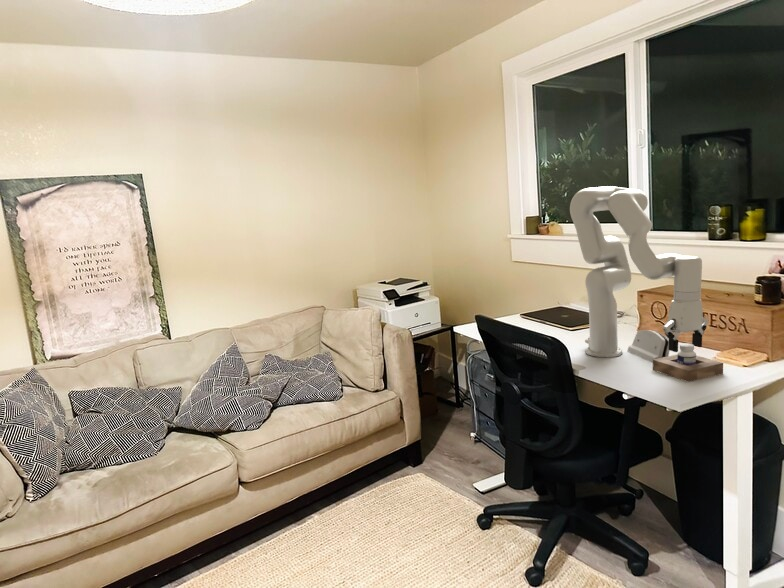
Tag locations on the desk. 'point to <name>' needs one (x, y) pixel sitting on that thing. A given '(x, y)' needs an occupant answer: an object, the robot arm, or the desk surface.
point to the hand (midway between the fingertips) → (685, 348)
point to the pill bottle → (686, 354)
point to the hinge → (649, 345)
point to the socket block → (688, 368)
